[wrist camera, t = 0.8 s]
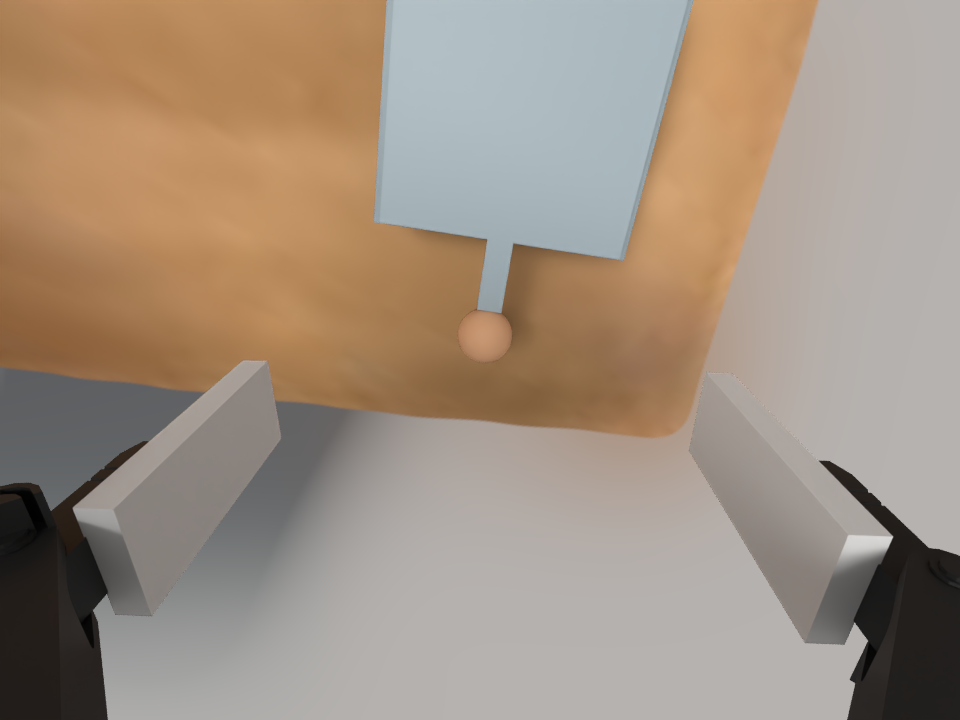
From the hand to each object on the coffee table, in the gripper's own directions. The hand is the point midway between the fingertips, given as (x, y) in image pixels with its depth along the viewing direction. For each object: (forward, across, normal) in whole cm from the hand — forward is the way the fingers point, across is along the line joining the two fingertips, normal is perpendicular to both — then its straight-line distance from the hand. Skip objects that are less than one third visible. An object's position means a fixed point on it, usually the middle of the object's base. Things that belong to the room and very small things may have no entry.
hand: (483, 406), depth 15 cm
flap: (+16, +1, +5) cm, 17 cm away
